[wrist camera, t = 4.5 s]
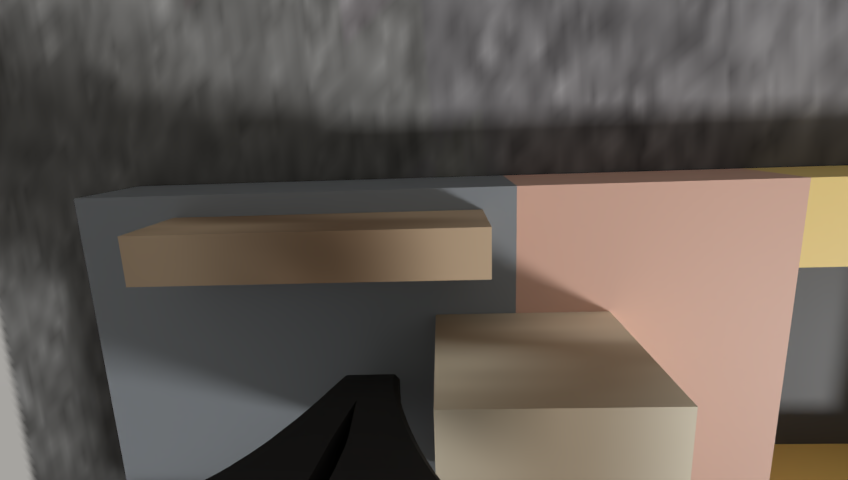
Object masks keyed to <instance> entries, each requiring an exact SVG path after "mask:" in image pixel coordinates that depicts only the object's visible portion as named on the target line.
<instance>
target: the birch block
mask: <svg viewBox="0 0 848 480" xmlns="http://www.w3.org/2000/svg"><path fill="white" fill-rule="evenodd" d="M697 410H698V406H697V405H696V404H695V403H694V402H693V401H692V400H691V399H690V398H689V397H688V396H687V394H686V393H685V392H684V391H683V390H682V389H681V388H680V387H679V386H678V385H677V384H676V383H675V381H674V380H673V379H672V378H671V377H670V376H669V375H668V374H667V373H666V372H665V371H664V370H663V369H662V367H661V366H660V365H659V364H658V363H657V362H656V361H655V360H654V359H653V358H652V357H651V356H650V354H649V353H648V352H647V351H646V350H645V349H644V348H643V347H642V346H641V345H640V344H639V343H638V341H637V340H636V339H635V338H634V337H633V336H632V335H631V334H630V333H629V332H628V331H627V330H626V328H625V327H624V326H623V325H622V324H621V323H620V322H619V321H618V320H617V319H616V318H615V317H614V316H613V314H612V313H611V312H610V311H596V312H544V313H492V314H440V315H436V326H435V370H434V439H435V470H436V474H437V476H438V477H439V479H440V480H691V471H692V461H693V451H694V441H695V431H696V421H697Z"/></svg>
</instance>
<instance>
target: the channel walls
mask: <svg viewBox="0 0 848 480" xmlns="http://www.w3.org/2000/svg"><path fill="white" fill-rule="evenodd" d="M118 242H119V248H120V254H121V259H122V265H123V271H124V277H125V283H126V287H163V286H210V285H258V284H305V283H352V282H400V281H447V280H492V227H491V225H490V223H489V221H488V219H487V217H486V215H485V213H484V211H483V210H445V211H408V212H371V213H333V214H296V215H259V216H222V217H184V218H172V219H169V220H166V221H163V222H160V223H157V224H154V225H151V226H148V227H145V228H142V229H139V230H136V231H133V232H130V233H127V234H124V235H121V236H118Z"/></svg>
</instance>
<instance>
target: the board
mask: <svg viewBox="0 0 848 480" xmlns="http://www.w3.org/2000/svg"><path fill="white" fill-rule="evenodd" d="M74 204H75V209H76V215H77V220H78V225H79V230H80V236H81V241H82V246H83V252H84V257H85V262H86V268H87V273H88V278H89V283H90V289H91V294H92V299H93V305H94V310H95V315H96V321H97V326H98V331H99V336H100V342H101V347H102V352H103V358H104V363H105V368H106V374H107V379H108V384H109V389H110V395H111V400H112V405H113V411H114V416H115V421H116V427H117V432H118V437H119V442H120V448H121V453H122V458H123V464H124V469H125V474H126V480H206V479H207V478H209V477H211V476H213V475H215V474H217V473H219V472H221V471H222V470H224V469H226V468H227V467H229V466H231V465H232V464H234V463H236V462H237V461H239V460H240V459H242V458H243V457H245V456H247V455H248V454H250V453H251V452H253V451H254V450H256V449H257V448H259V447H260V446H262V445H263V444H264V443H266V442H267V441H269V440H270V439H271V438H273V437H274V436H275V435H276V434H278V433H279V432H280V431H282V430H283V429H284V428H285V427H287V426H288V425H289V424H291V423H292V422H293V421H294V420H296V419H297V418H298V417H300V416H301V415H302V414H303V413H304V412H305V411H307V410H308V409H309V408H310V407H311V406H312V405H313V404H315V403H316V402H317V401H318V400H319V399H320V398H321V397H323V396H324V395H325V394H326V393H327V392H328V391H329V390H330V389H331V388H332V387H334V386H335V385H336V384H337V383H338V382H339V381H340V380H341V379H343V378H344V377H345V376H346V375H374V374H395V375H396V376H397V377H398V378H399V379H400V395H401V405H402V408H403V411H404V414H405V416H406V419H407V422H408V424H409V427H410V429H411V431H412V433H413V435H414V437H415V440H416V442H417V444H418V445H419V447H420V449H421V451H422V453H423V454H424V456H425V458H426V459H427V461H428V463H429V464H430V466H431V467H432V469H433V470H434V472H435V473H436V470H435V439H434V370H435V326H436V315H440V314H492V313H544V312H596V311H610V312H611V313H612V314H613V316H614V317H615V318H616V319H617V320H618V321H619V322H620V323H621V324H622V325H623V326H624V327H625V328H626V330H627V331H628V332H629V333H630V334H631V335H632V336H633V337H634V338H635V339H636V340H637V341H638V343H639V344H640V345H641V346H642V347H643V348H644V349H645V350H646V351H647V352H648V353H649V354H650V356H651V357H652V358H653V359H654V360H655V361H656V362H657V363H658V364H659V365H660V366H661V367H662V369H663V370H664V371H665V372H666V373H667V374H668V375H669V376H670V377H671V378H672V379H673V380H674V381H675V383H676V384H677V385H678V386H679V387H680V388H681V389H682V390H683V391H684V392H685V393H686V394H687V396H688V397H689V398H690V399H691V400H692V401H693V402H694V403H695V404H696V405H697V406H698V410H697V421H696V431H695V441H694V451H693V461H692V471H691V480H848V165H840V166H806V167H772V168H738V169H704V170H671V171H637V172H603V173H569V174H535V175H501V176H467V177H433V178H400V179H366V180H332V181H298V182H264V183H230V184H196V185H162V186H137V187H132V188H127V189H122V190H116V191H111V192H106V193H101V194H95V195H90V196H85V197H80V198H74ZM445 210H483V211H484V213H485V215H486V217H487V219H488V221H489V223H490V225H491V227H492V280H447V281H400V282H352V283H305V284H258V285H210V286H163V287H126V283H125V277H124V271H123V265H122V259H121V254H120V248H119V242H118V236H121V235H124V234H127V233H130V232H133V231H136V230H139V229H142V228H145V227H148V226H151V225H154V224H157V223H160V222H163V221H166V220H169V219H172V218H184V217H222V216H259V215H296V214H333V213H371V212H408V211H445Z"/></svg>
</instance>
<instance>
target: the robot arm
mask: <svg viewBox="0 0 848 480" xmlns="http://www.w3.org/2000/svg"><path fill="white" fill-rule="evenodd" d="M206 480H440V479H439V477H438V476H437V474H436V473H435V472H434V470H433V469H432V467H431V466H430V464H429V463H428V461H427V459H426V458H425V456H424V454H423V453H422V451H421V449H420V447H419V445H418V444H417V442H416V440H415V437H414V435H413V433H412V431H411V429H410V427H409V424H408V422H407V419H406V416H405V414H404V411H403V408H402V405H401V395H400V379H399V378H398V377H397V376H396V375H395V374H374V375H346V376H345V377H344V378H343V379H341V380H340V381H339V382H338V383H337V384H336V385H335V386H334V387H332V388H331V389H330V390H329V391H328V392H327V393H326V394H325V395H324V396H323V397H321V398H320V399H319V400H318V401H317V402H316V403H315V404H313V405H312V406H311V407H310V408H309V409H308V410H307V411H305V412H304V413H303V414H302V415H301V416H300V417H298V418H297V419H296V420H294V421H293V422H292V423H291V424H289V425H288V426H287V427H285V428H284V429H283V430H282V431H280V432H279V433H278V434H276V435H275V436H274V437H273V438H271V439H270V440H269V441H267V442H266V443H264V444H263V445H262V446H260V447H259V448H257V449H256V450H254V451H253V452H251V453H250V454H248V455H247V456H245V457H243V458H242V459H240V460H239V461H237V462H236V463H234V464H232V465H231V466H229V467H227V468H226V469H224V470H222V471H221V472H219V473H217V474H215V475H213V476H211V477H209V478H207V479H206Z"/></svg>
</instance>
